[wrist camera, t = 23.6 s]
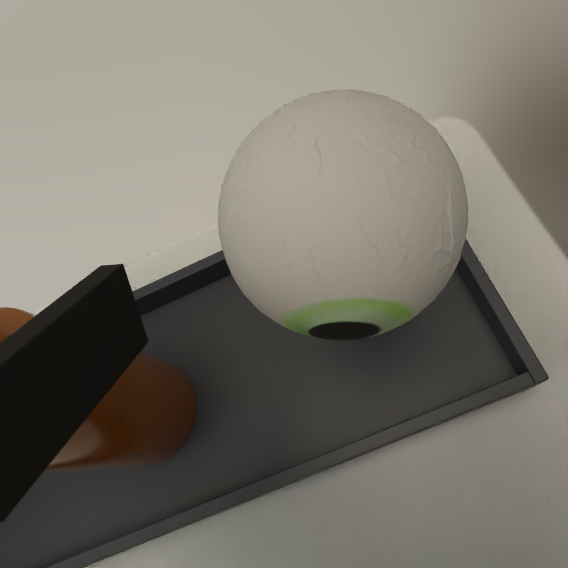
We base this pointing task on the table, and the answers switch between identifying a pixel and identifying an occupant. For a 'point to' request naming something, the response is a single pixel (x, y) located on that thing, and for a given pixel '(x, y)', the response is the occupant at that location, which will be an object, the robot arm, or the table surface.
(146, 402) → the bottle mid
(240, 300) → the tray
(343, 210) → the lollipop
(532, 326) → the table surface
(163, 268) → the table surface
